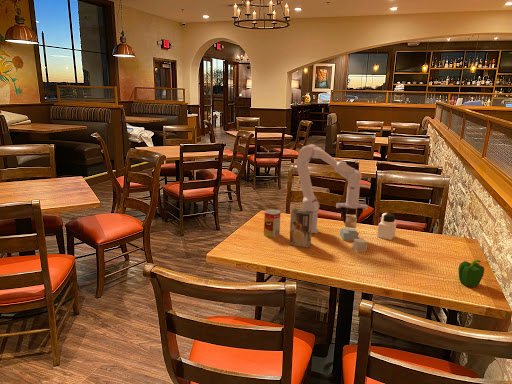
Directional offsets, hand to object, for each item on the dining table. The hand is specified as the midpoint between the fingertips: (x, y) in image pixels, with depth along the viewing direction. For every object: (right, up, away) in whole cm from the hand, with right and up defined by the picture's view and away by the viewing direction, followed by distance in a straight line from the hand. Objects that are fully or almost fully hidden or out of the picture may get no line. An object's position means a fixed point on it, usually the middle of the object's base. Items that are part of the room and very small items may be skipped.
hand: (350, 222), depth 181 cm
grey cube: (+1, -11, -12) cm, 16 cm away
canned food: (-38, -6, +4) cm, 39 cm away
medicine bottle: (+19, -8, +5) cm, 21 cm away
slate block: (0, -8, +2) cm, 8 cm away
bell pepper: (+34, -20, -41) cm, 57 cm away
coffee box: (-25, -10, -7) cm, 28 cm away
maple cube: (0, -2, 0) cm, 2 cm away
